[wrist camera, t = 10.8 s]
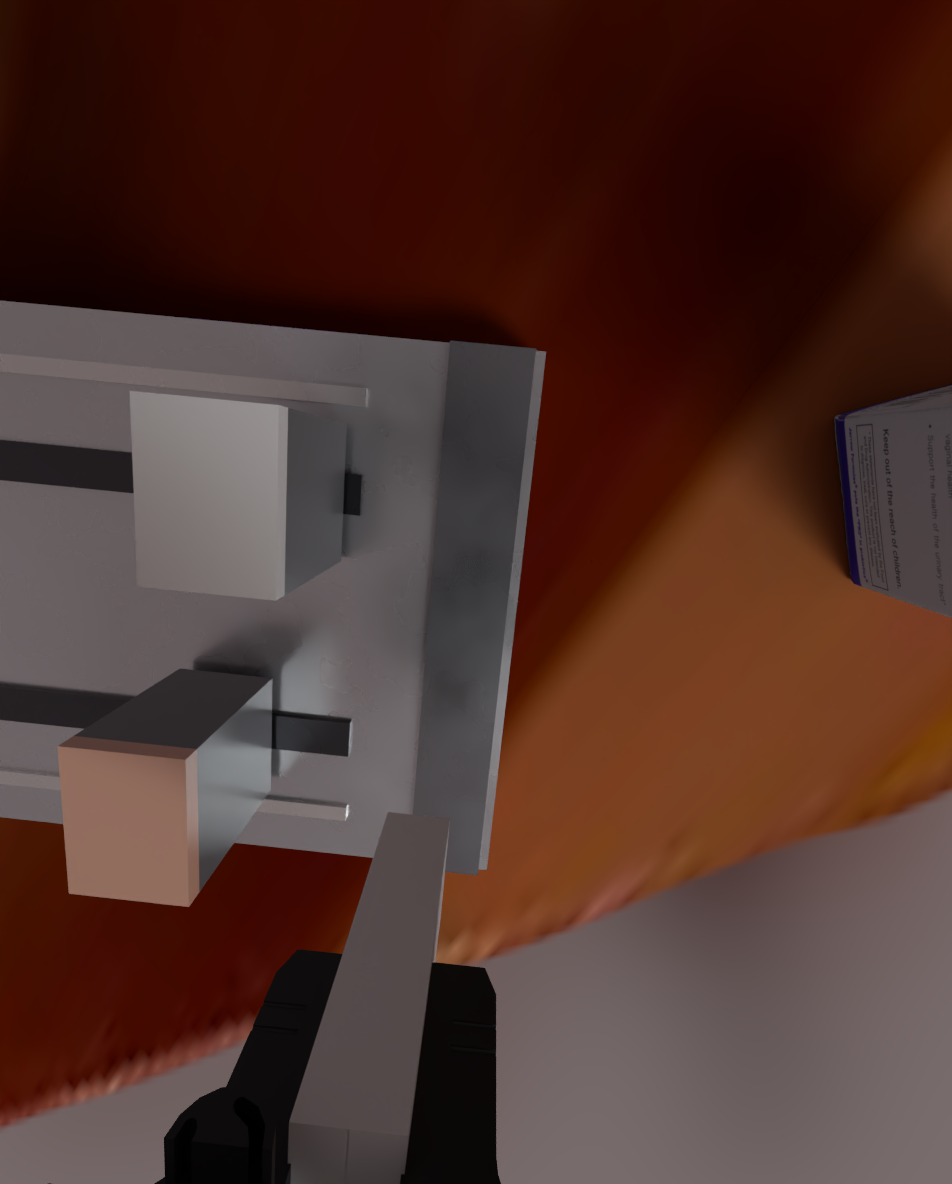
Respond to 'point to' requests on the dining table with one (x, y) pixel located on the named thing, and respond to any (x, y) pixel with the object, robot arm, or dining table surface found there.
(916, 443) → the supplement box
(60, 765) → the fader terracotta
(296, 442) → the fader white
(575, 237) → the dining table surface
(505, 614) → the console
